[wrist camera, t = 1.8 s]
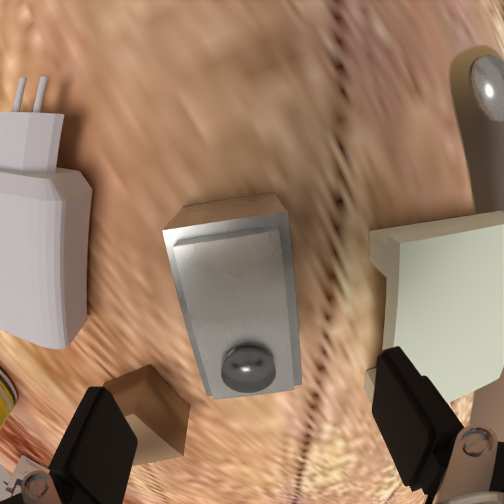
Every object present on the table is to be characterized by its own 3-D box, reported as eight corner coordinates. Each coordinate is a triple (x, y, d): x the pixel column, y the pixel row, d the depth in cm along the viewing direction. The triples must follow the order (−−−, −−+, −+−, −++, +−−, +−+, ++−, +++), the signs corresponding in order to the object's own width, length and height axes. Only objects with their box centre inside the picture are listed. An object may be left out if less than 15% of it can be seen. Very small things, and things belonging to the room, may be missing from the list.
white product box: (52, 488, 29) (34, 542, 18) (25, 473, 28) (4, 525, 17) (51, 470, 27) (27, 533, 16) (21, 452, 26) (-7, 513, 15)
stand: (369, 222, 18) (400, 243, 14) (501, 204, 18) (537, 217, 14) (363, 392, 22) (379, 427, 18) (476, 353, 22) (498, 378, 18)
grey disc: (461, 54, 14) (470, 51, 13) (502, 61, 14) (510, 59, 13) (476, 121, 16) (485, 121, 15) (514, 121, 16) (523, 121, 15)
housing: (183, 205, 17) (153, 241, 11) (273, 192, 17) (294, 220, 11) (212, 341, 20) (205, 415, 14) (288, 330, 20) (306, 402, 14)
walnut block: (104, 382, 21) (84, 427, 16) (150, 363, 20) (133, 413, 16) (144, 420, 23) (132, 465, 18) (190, 406, 22) (183, 455, 17)
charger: (117, 84, 15) (91, 315, 19) (7, 83, 13) (-3, 283, 18) (80, 67, 10) (62, 355, 15) (-38, 78, 9) (-39, 310, 14)
